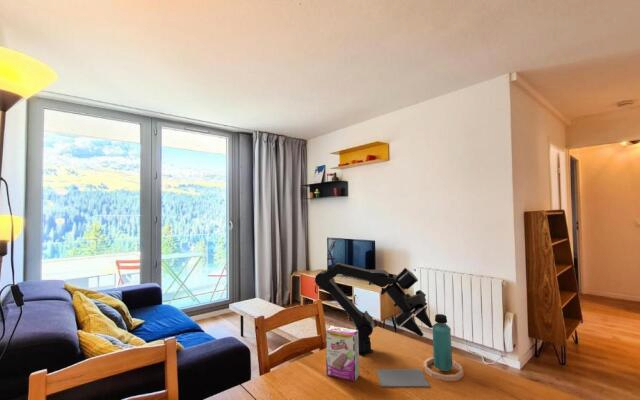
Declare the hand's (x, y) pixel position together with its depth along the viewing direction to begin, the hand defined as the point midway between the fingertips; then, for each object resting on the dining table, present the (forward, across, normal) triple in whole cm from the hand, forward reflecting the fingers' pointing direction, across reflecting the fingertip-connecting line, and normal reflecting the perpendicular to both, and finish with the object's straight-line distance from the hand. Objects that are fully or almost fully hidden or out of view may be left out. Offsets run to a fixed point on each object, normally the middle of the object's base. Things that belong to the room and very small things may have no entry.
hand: (427, 331), depth 113 cm
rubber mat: (+6, -14, +12) cm, 19 cm away
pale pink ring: (+13, 0, +5) cm, 14 cm away
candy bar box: (-6, -25, +24) cm, 35 cm away
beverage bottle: (+13, 0, +5) cm, 14 cm away
